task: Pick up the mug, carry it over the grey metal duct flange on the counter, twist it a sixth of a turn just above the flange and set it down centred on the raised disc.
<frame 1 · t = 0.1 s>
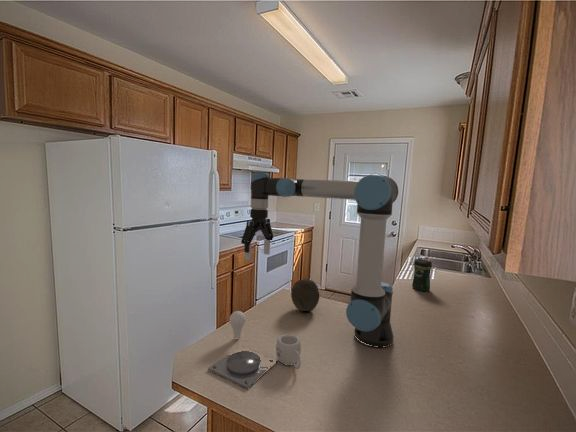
hand: (257, 256, 129), 28 cm above the counter, fingers open, 13 cm apart
lightbulb: (237, 339, 113), on the counter
mug: (290, 364, 99), on the counter
coconut: (304, 310, 142), on the counter
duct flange: (243, 366, 96), on the counter
coffee jar: (420, 289, 180), on the counter
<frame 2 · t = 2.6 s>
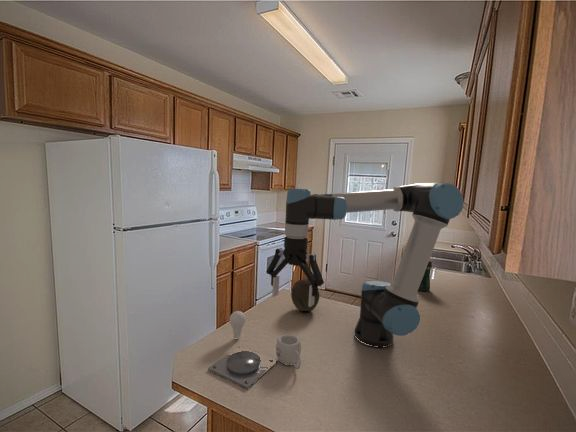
hand: (292, 300, 97), 22 cm above the counter, fingers open, 13 cm apart
nothing on the counter moved.
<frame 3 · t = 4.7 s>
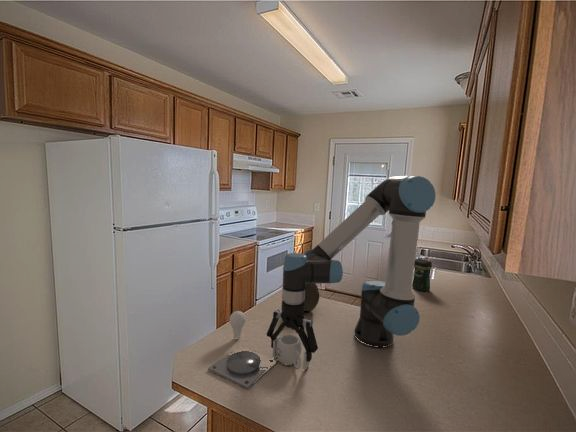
hand: (290, 363, 99), 0 cm above the counter, fingers open, 11 cm apart
mug: (290, 364, 99), on the counter, touching gripper
everything else where it was.
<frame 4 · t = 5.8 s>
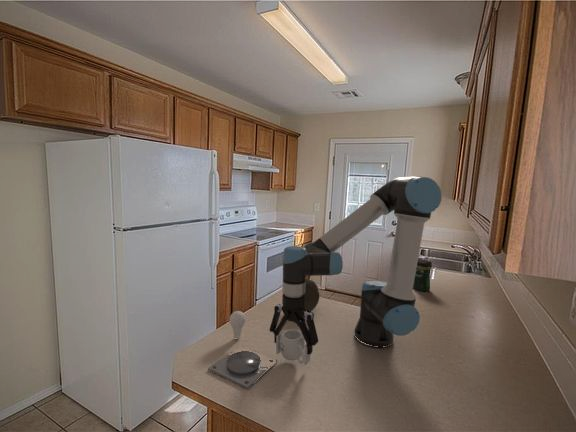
hand: (292, 357, 99), 2 cm above the counter, fingers closed on mug, 10 cm apart
mug: (294, 359, 99), point 2 cm above the counter, touching gripper
everything else where it was.
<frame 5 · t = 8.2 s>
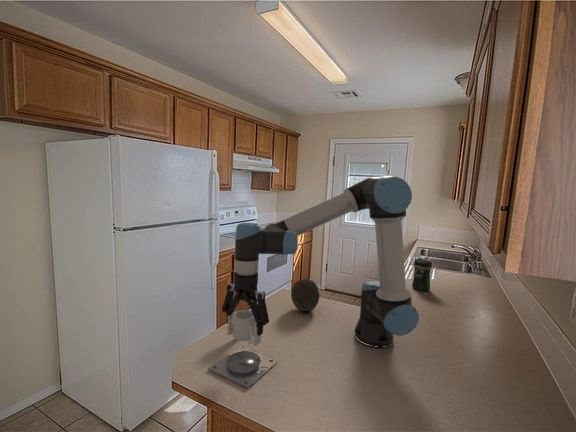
hand: (243, 338, 95), 10 cm above the counter, fingers closed on mug, 10 cm apart
mug: (245, 340, 95), point 9 cm above the counter, touching gripper
everything else where it was.
when the fingers open (3 cm above the counter, at t = 10.4 s): mug stays where it is, resting on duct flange.
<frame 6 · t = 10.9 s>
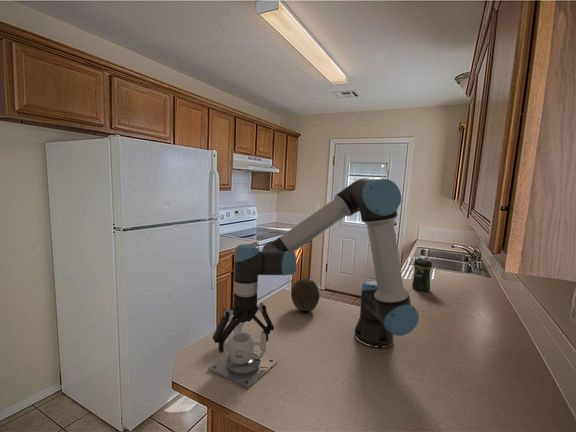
hand: (243, 355, 96), 4 cm above the counter, fingers open, 13 cm apart
mug: (245, 361, 96), point 2 cm above the counter, touching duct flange
everything else where it was.
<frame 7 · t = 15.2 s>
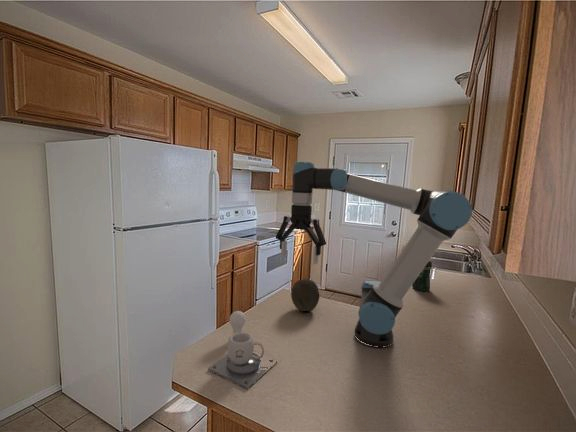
hand: (299, 260, 111), 32 cm above the counter, fingers open, 13 cm apart
nothing on the counter moved.
at the end: mug 0.6 cm from the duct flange (horizontally); mug point 1.8 cm above the counter; mug tilted 0° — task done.
